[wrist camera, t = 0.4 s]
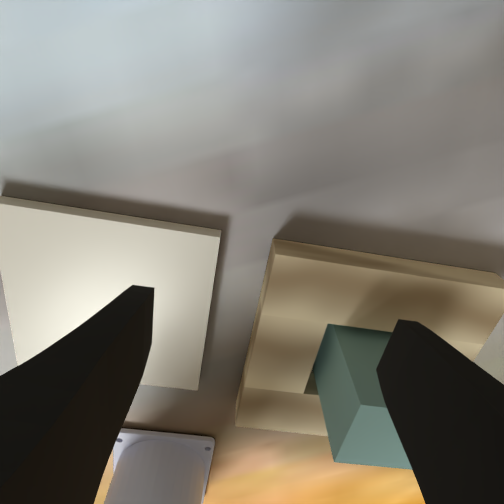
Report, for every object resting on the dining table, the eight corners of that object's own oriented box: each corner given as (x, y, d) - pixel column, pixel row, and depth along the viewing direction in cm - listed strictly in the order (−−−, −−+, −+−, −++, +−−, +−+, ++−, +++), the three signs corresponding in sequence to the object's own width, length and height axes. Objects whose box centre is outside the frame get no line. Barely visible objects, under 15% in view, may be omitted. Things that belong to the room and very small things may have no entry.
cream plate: (199, 379, 25) (197, 390, 24) (27, 359, 24) (18, 370, 23) (221, 230, 20) (220, 237, 19) (0, 195, 18) (-12, 201, 18)
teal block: (371, 371, 25) (413, 469, 19) (311, 363, 24) (334, 461, 18) (393, 322, 23) (449, 414, 17) (328, 313, 22) (360, 404, 16)
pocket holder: (408, 421, 27) (420, 445, 26) (235, 402, 26) (234, 426, 24) (494, 272, 21) (517, 290, 19) (272, 238, 20) (275, 254, 18)
